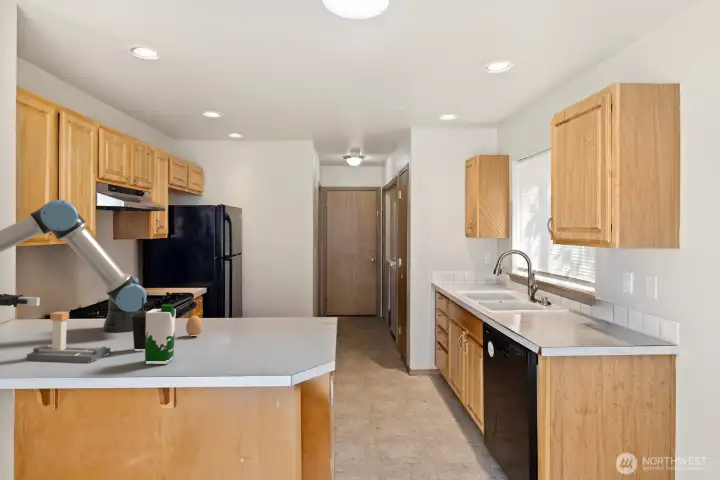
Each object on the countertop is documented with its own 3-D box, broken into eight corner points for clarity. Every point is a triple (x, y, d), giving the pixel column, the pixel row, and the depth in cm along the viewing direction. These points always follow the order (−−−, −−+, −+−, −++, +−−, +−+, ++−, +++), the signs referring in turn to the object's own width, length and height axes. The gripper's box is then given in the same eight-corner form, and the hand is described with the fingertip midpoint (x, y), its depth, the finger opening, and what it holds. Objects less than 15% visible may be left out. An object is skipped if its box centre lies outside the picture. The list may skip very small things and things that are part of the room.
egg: (204, 335, 205) (205, 314, 205) (197, 338, 198) (198, 317, 198) (190, 334, 206) (190, 313, 206) (182, 337, 199) (183, 316, 199)
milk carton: (168, 365, 160) (170, 307, 159) (141, 365, 159) (142, 306, 159) (176, 358, 168) (178, 303, 168) (150, 358, 168) (152, 302, 167)
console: (26, 360, 160) (27, 350, 160) (50, 350, 172) (50, 342, 172) (91, 362, 160) (91, 353, 160) (110, 353, 172) (110, 344, 172)
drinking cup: (156, 348, 180) (158, 297, 180) (141, 353, 173) (143, 299, 173) (141, 346, 183) (142, 295, 183) (125, 350, 176) (127, 297, 175)
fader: (49, 351, 164) (50, 313, 163) (56, 348, 168) (57, 311, 167) (61, 351, 164) (62, 313, 163) (68, 348, 168) (69, 311, 167)
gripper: (-15, 306, 171) (49, 309, 172) (-46, 312, 158) (24, 315, 159) (-14, 285, 171) (50, 289, 171) (-45, 290, 158) (25, 293, 158)
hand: (38, 301), depth 165 cm, fingers closed
